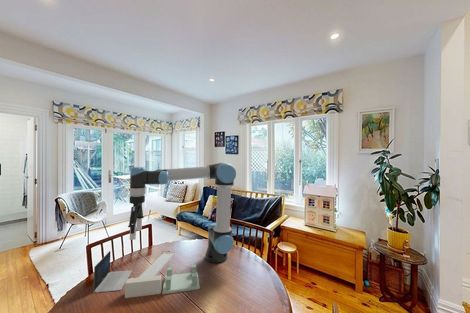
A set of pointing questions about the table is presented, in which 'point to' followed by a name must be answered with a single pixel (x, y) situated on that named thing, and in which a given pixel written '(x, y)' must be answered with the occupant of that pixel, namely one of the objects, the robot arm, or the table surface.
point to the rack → (181, 281)
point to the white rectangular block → (143, 286)
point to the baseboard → (157, 265)
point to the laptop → (108, 276)
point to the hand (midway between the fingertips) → (135, 234)
